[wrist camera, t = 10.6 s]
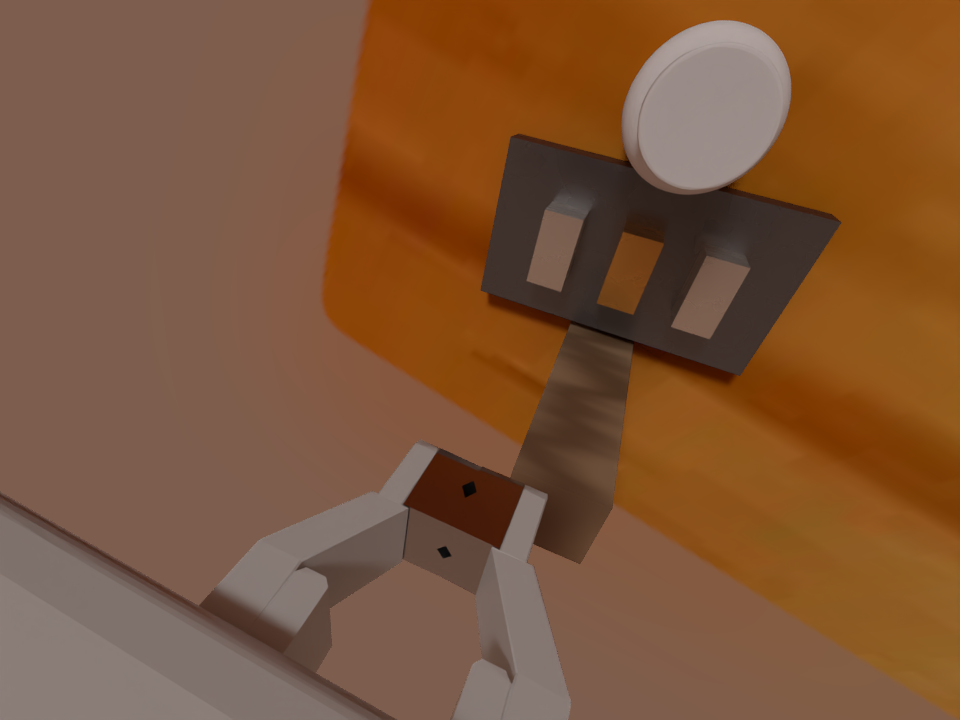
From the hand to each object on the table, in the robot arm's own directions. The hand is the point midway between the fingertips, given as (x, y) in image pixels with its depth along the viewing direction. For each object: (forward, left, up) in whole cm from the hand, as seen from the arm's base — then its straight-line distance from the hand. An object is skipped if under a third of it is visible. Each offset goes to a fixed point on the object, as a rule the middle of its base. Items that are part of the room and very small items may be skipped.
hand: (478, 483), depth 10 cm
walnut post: (-2, +8, -20) cm, 21 cm away
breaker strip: (-2, +1, -20) cm, 20 cm away
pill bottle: (-2, -7, -20) cm, 21 cm away
